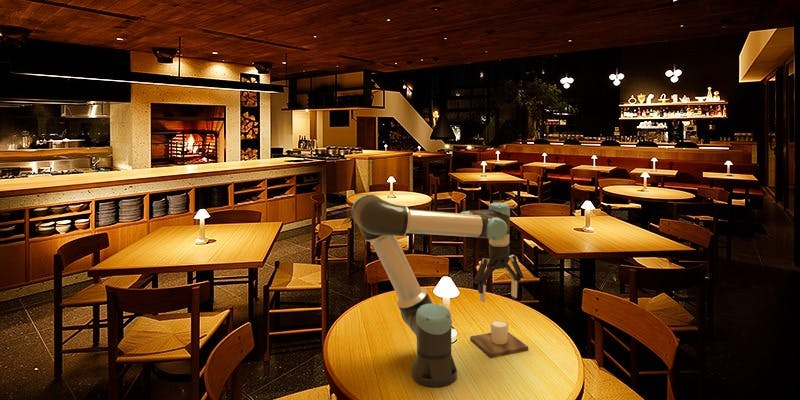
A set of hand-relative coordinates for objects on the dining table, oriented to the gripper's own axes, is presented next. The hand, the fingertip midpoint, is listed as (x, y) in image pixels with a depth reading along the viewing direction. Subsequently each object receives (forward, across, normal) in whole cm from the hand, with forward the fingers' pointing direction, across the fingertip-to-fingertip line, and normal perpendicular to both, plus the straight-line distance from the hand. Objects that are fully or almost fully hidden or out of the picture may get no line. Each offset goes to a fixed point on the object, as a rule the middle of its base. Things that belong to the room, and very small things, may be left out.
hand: (498, 298), depth 177 cm
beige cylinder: (+17, 0, 0) cm, 17 cm away
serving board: (+19, 0, 0) cm, 19 cm away
